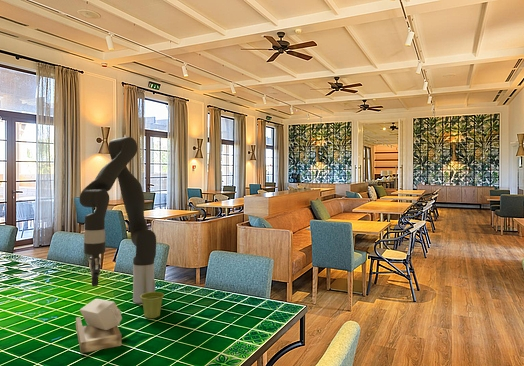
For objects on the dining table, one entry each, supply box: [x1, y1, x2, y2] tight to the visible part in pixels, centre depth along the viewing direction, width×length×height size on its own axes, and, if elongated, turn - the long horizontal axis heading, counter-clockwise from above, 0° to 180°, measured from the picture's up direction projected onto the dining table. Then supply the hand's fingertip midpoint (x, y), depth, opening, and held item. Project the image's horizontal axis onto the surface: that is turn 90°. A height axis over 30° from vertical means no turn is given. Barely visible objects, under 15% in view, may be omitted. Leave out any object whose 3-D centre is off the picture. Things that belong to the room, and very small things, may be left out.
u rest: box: [75, 316, 123, 354], centre depth 140 cm, size 13×24×4 cm, turn 29°
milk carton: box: [79, 298, 123, 330], centre depth 144 cm, size 7×7×19 cm
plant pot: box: [140, 291, 165, 319], centre depth 160 cm, size 9×9×9 cm
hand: (95, 285), depth 150 cm, fingers closed
